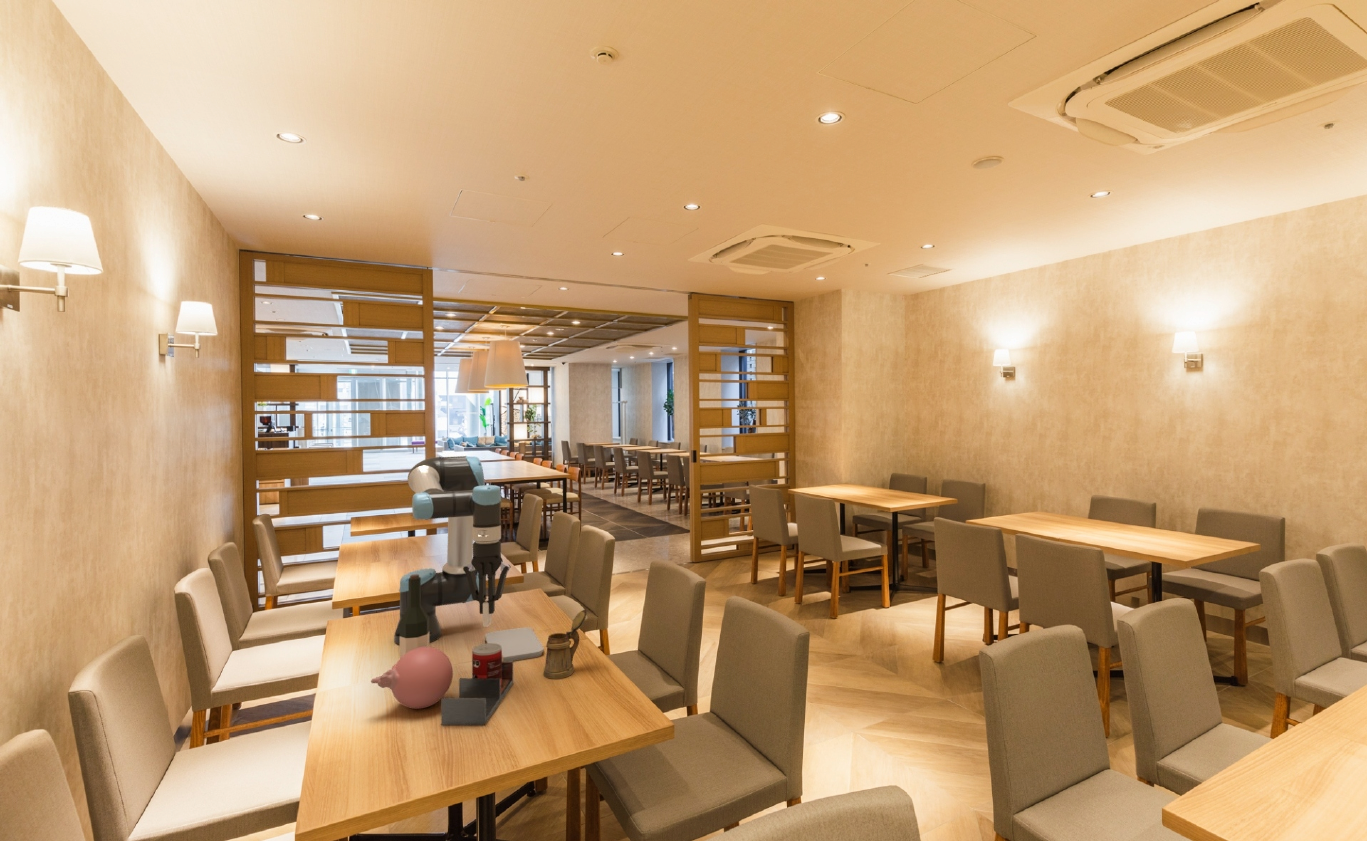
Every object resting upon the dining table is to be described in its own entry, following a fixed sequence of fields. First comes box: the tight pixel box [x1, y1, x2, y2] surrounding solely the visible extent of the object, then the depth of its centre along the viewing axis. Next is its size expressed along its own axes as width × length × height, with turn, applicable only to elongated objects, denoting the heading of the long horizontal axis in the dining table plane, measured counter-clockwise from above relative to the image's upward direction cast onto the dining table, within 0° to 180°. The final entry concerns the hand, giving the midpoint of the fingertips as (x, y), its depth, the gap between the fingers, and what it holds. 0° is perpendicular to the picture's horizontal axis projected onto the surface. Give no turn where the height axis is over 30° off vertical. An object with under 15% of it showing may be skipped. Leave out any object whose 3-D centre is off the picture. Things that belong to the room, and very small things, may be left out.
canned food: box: [471, 642, 502, 683], centre depth 172 cm, size 8×8×11 cm
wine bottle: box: [399, 574, 430, 659], centre depth 184 cm, size 8×8×30 cm
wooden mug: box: [542, 609, 588, 680], centre depth 187 cm, size 9×14×18 cm, turn 118°
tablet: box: [484, 626, 545, 662], centre depth 207 cm, size 16×26×2 cm, turn 25°
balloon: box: [370, 646, 454, 709], centre depth 163 cm, size 15×20×15 cm
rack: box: [440, 655, 514, 726], centre depth 166 cm, size 25×11×8 cm, turn 179°
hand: (487, 625), depth 172 cm, fingers closed
